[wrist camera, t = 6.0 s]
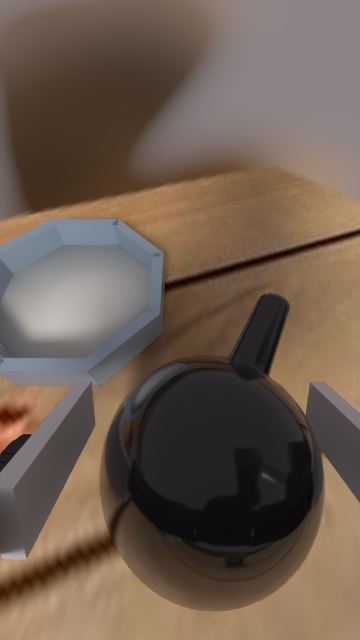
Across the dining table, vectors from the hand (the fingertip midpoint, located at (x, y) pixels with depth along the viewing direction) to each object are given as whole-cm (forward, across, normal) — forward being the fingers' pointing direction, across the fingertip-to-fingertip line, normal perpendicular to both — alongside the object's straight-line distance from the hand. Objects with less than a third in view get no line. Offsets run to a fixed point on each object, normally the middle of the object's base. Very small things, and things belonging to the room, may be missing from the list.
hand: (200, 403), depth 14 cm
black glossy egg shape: (+3, 0, -7) cm, 8 cm away
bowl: (+13, -11, +3) cm, 18 cm away
